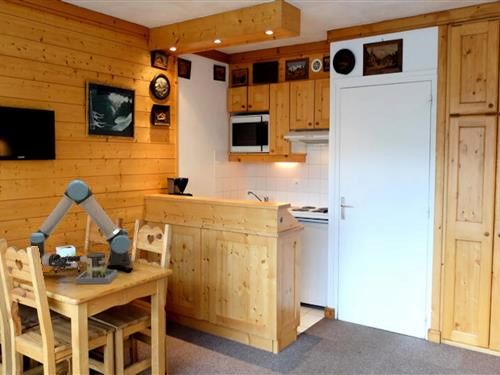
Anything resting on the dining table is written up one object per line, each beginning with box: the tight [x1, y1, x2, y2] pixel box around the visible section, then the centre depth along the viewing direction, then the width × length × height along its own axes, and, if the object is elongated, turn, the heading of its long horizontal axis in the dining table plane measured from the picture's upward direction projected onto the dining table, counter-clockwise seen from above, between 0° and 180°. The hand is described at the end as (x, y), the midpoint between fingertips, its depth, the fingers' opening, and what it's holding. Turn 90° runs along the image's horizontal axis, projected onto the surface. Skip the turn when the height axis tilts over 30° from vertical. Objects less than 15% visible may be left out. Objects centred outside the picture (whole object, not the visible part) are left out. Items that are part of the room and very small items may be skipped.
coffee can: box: [85, 252, 106, 278], centre depth 264 cm, size 10×10×14 cm
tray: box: [74, 269, 118, 285], centre depth 265 cm, size 18×18×3 cm
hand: (83, 262), depth 266 cm, fingers open, 13 cm apart
